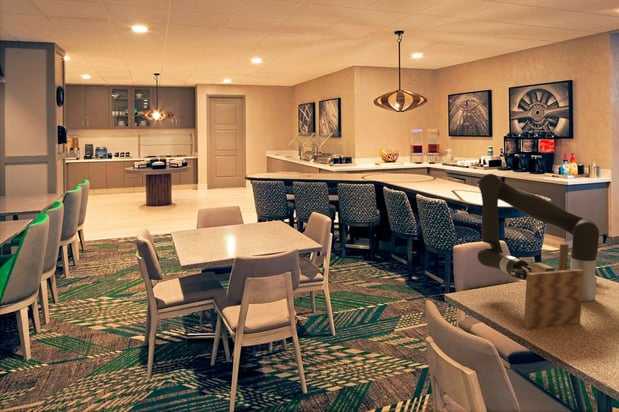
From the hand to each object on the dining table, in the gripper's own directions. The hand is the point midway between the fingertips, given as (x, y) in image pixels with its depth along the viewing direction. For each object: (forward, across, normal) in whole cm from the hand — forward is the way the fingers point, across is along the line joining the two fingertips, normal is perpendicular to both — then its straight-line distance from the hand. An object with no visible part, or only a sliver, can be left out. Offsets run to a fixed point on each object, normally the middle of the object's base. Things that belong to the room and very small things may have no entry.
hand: (542, 278), depth 184 cm
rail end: (0, 0, +6) cm, 6 cm away
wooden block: (-36, +44, +16) cm, 59 cm away
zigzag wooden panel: (+4, 0, +16) cm, 16 cm away
